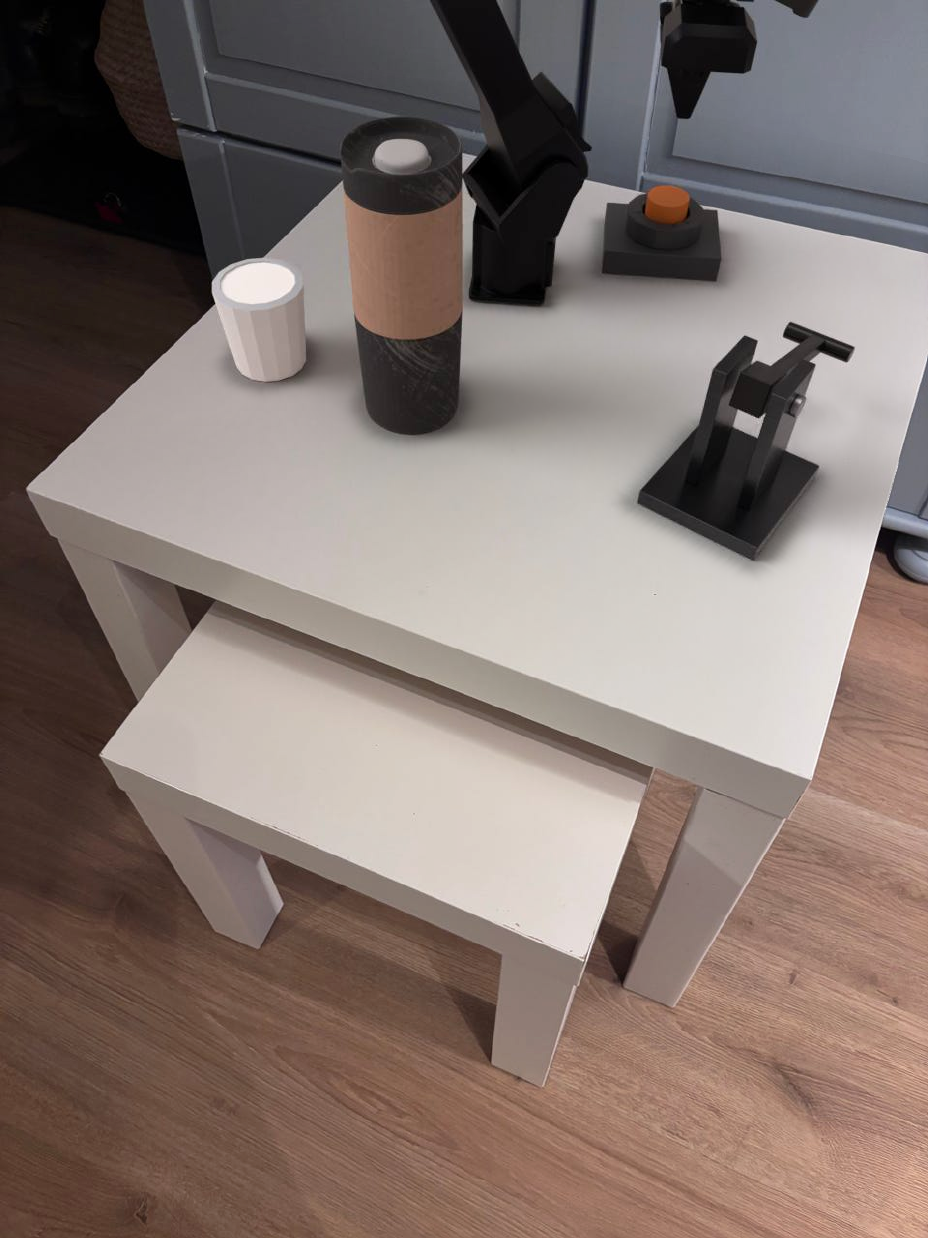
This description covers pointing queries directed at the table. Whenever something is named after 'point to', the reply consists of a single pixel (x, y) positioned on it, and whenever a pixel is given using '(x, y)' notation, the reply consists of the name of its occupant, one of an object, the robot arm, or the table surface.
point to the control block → (661, 243)
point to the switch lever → (782, 368)
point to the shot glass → (263, 317)
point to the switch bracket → (736, 463)
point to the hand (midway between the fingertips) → (683, 116)
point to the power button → (667, 204)
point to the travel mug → (406, 267)
